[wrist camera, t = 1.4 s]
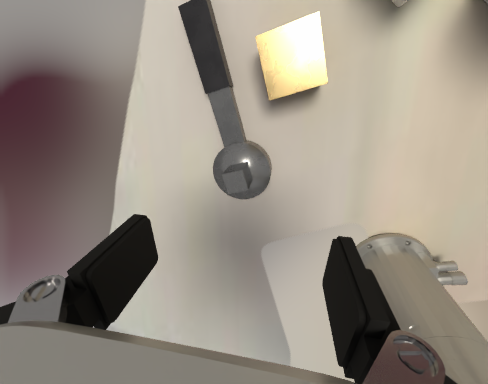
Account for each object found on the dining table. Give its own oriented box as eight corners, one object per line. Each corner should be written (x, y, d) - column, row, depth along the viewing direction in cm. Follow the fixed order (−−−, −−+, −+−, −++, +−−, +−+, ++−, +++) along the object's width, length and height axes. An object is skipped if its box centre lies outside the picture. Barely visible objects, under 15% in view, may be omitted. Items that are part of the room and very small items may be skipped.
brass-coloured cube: (313, 28, 26) (319, 11, 20) (320, 85, 28) (327, 83, 23) (261, 47, 28) (255, 36, 22) (272, 99, 30) (269, 100, 24)
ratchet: (230, -10, 26) (213, -39, 20) (276, 187, 35) (274, 205, 30) (167, 20, 28) (137, 2, 23) (226, 196, 38) (215, 215, 32)
